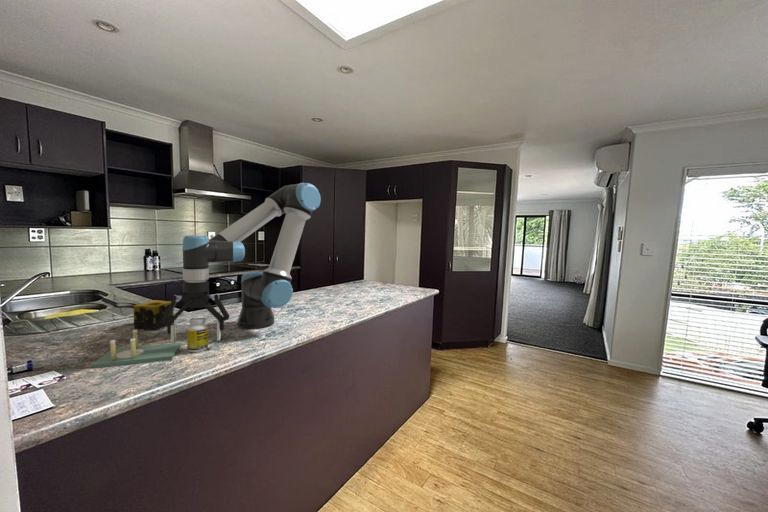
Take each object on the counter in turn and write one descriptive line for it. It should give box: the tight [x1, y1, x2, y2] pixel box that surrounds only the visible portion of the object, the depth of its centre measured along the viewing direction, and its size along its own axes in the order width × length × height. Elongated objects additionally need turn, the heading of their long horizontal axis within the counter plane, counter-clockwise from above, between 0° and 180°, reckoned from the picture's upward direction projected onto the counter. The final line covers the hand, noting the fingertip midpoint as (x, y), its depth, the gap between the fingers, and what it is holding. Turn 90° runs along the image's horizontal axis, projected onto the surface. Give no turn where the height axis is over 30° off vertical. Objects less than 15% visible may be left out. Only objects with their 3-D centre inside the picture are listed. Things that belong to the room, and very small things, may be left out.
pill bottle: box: [186, 316, 209, 353], centre depth 106 cm, size 6×6×11 cm
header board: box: [91, 329, 183, 369], centre depth 100 cm, size 20×12×7 cm, turn 111°
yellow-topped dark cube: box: [132, 299, 175, 331], centre depth 129 cm, size 10×10×10 cm
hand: (196, 341), depth 106 cm, fingers open, 13 cm apart
